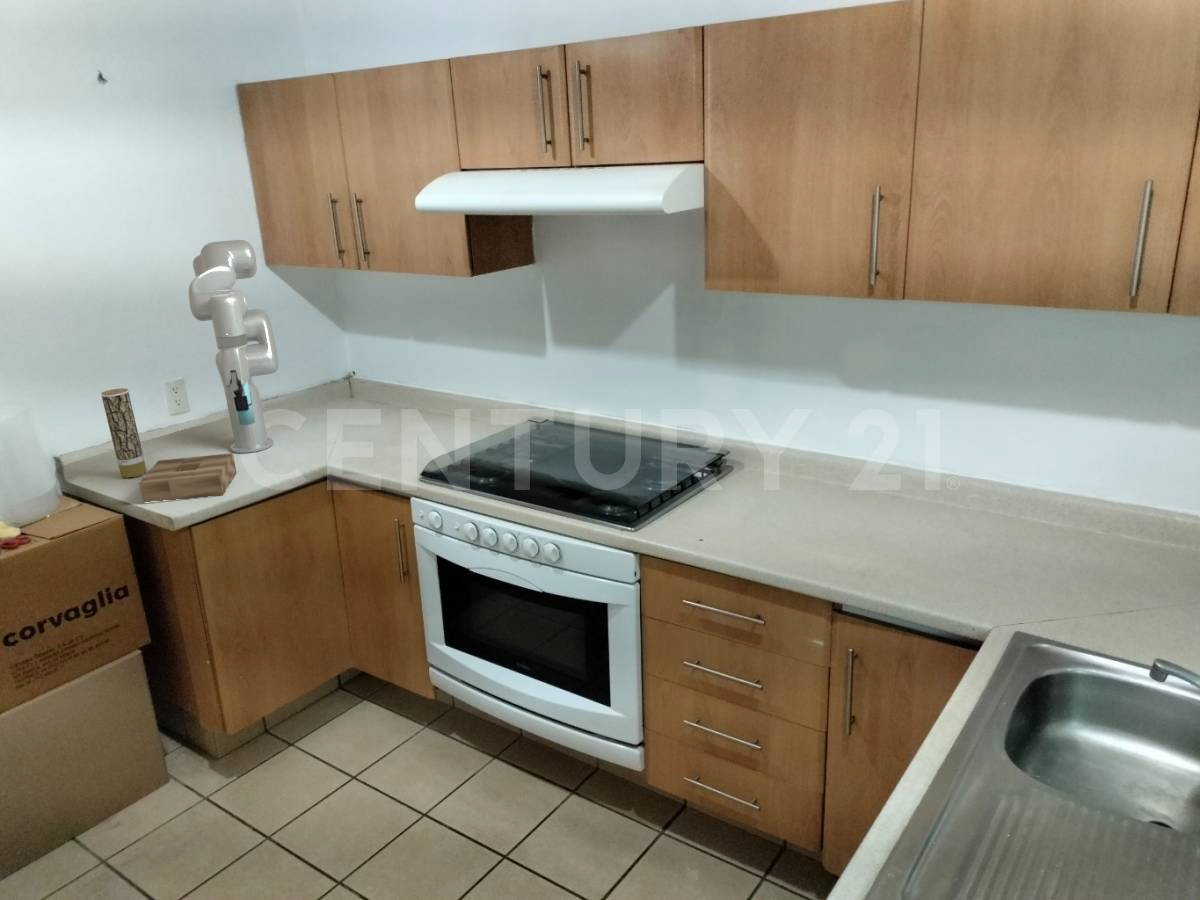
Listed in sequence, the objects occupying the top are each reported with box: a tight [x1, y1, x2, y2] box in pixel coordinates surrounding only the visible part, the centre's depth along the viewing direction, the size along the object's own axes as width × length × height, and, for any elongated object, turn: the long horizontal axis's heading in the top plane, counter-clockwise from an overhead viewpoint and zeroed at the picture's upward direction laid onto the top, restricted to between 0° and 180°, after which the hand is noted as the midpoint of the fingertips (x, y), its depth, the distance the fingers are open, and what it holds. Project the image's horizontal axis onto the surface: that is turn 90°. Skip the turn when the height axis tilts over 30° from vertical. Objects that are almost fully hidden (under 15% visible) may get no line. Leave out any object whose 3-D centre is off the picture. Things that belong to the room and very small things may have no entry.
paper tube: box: [101, 388, 147, 479], centre depth 257 cm, size 7×7×25 cm
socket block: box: [138, 452, 238, 503], centre depth 247 cm, size 18×20×6 cm
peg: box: [237, 381, 255, 425], centre depth 243 cm, size 4×4×12 cm
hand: (244, 407), depth 244 cm, fingers closed on peg, 4 cm apart
